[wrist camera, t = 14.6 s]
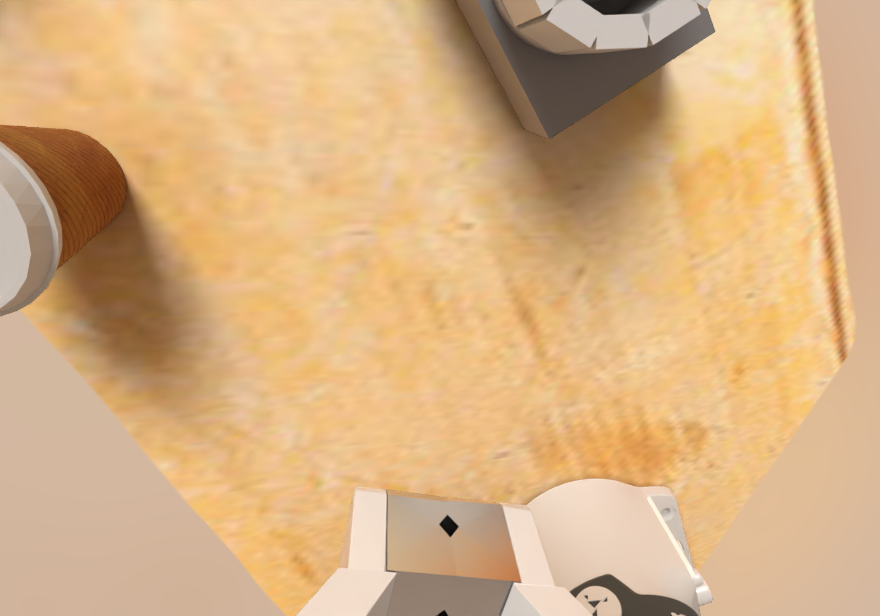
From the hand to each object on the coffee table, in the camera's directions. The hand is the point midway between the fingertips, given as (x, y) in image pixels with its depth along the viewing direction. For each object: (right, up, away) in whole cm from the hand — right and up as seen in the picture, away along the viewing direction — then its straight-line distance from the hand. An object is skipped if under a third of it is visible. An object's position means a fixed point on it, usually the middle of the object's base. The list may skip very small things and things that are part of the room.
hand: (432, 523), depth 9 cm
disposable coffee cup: (-23, +12, +25) cm, 36 cm away
